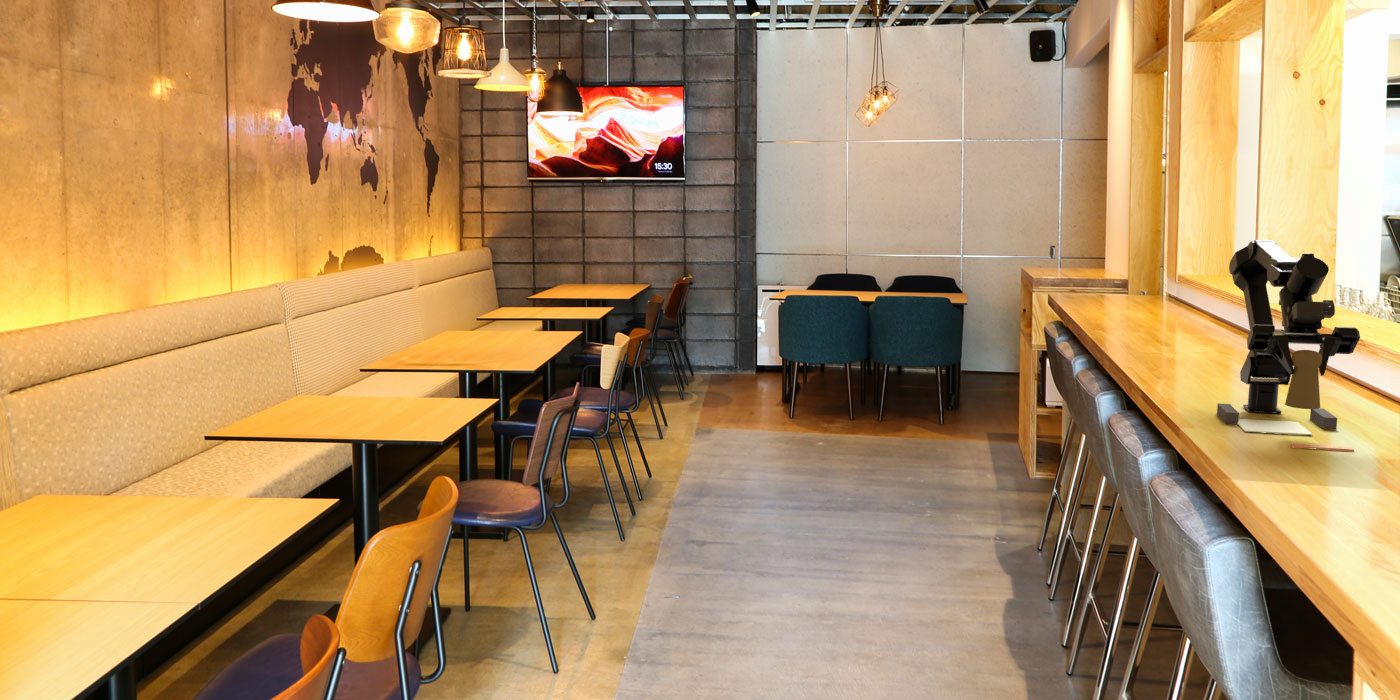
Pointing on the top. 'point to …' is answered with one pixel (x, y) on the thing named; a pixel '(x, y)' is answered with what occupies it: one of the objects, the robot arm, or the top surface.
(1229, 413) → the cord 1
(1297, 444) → the off strip
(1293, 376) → the cork
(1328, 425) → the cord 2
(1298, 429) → the pad
